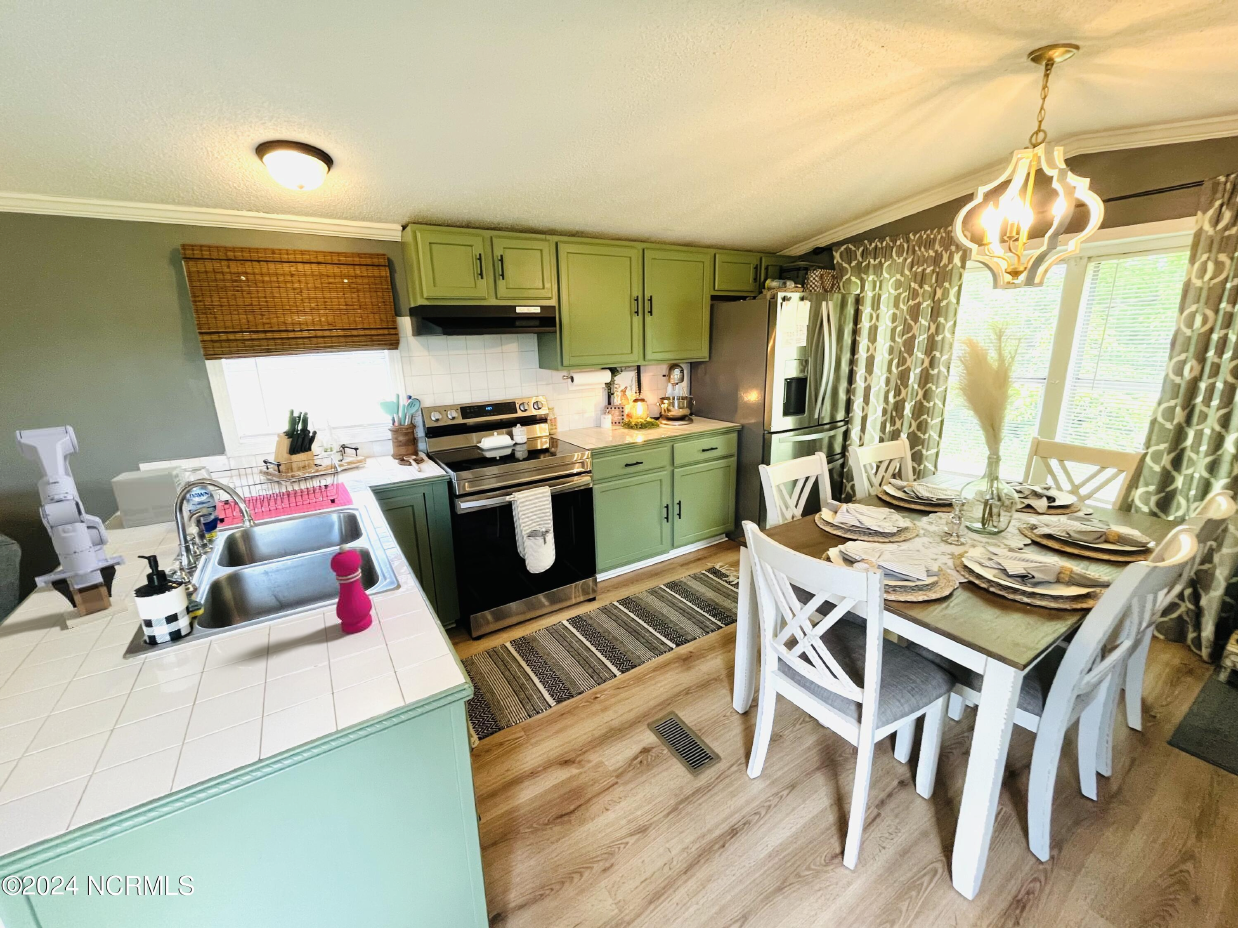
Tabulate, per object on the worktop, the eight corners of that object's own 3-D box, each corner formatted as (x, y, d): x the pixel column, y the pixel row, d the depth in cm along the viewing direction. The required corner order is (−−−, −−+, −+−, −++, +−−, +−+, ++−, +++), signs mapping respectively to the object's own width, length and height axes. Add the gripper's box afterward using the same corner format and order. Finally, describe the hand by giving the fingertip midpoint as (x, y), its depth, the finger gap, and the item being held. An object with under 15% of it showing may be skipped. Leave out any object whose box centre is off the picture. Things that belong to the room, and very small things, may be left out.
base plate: (64, 616, 120) (57, 597, 119) (120, 598, 128) (115, 581, 126) (68, 629, 115) (62, 609, 113) (127, 609, 122) (122, 591, 121)
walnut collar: (77, 608, 120) (70, 590, 119) (108, 599, 124) (102, 581, 123) (80, 615, 117) (73, 596, 116) (112, 605, 121) (106, 587, 120)
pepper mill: (360, 636, 109) (345, 553, 104) (331, 633, 111) (315, 550, 105) (381, 618, 116) (368, 539, 111) (354, 615, 117) (340, 537, 112)
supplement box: (194, 509, 195) (182, 464, 190) (185, 519, 184) (173, 472, 179) (135, 517, 187) (122, 471, 182) (123, 529, 176) (108, 480, 171)
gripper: (30, 565, 109) (49, 620, 112) (121, 543, 120) (136, 593, 123) (27, 557, 113) (46, 610, 117) (115, 536, 124) (130, 585, 128)
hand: (92, 601), depth 120 cm, fingers closed on walnut collar, 5 cm apart
